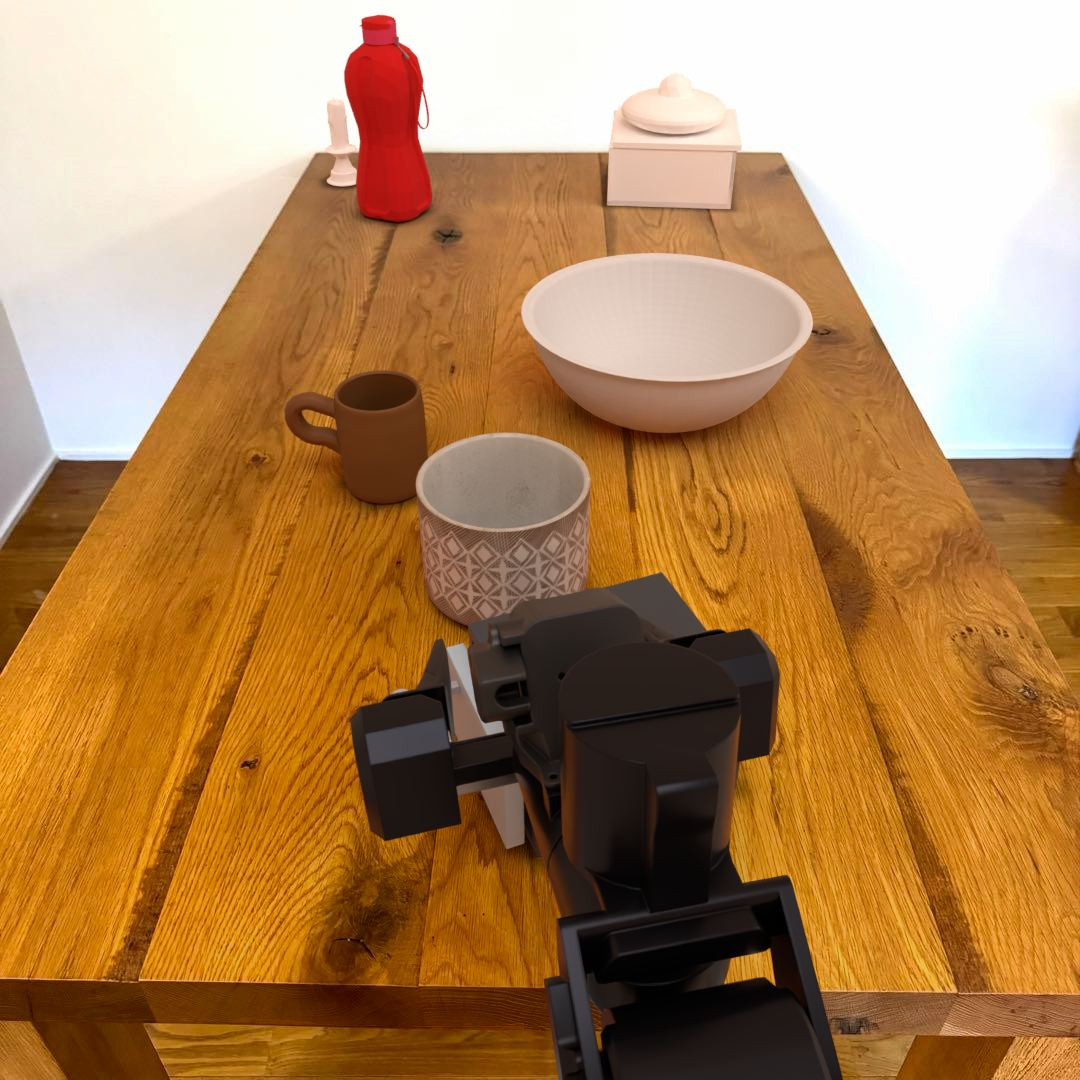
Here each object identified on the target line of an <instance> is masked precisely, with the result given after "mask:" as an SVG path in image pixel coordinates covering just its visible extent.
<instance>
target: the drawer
mask: <svg viewBox="0 0 1080 1080" xmlns="http://www.w3.org/2000/svg"><path fill="white" fill-rule="evenodd" d="M446 649H447V656H448V663H449V670H450V677H451V689H452V703H453V716H454V730H455V737H456V739H457V742H458V741H462V740H467V739H472V738H477V737H482V736H486V735H491V734H496V733H501V732H504V728H503V724H502V721H496V722H491V723H484V722H482V721H481V719H480V716H479V714H478V711H477V707H476V703H475V698H474V691H473V685H472V679H471V673H470V667H469V661H468V654H467V646H466V645H465V643H464V642H461V643H457V644H454V645H451V646H446ZM404 691H409V689H407V688H398V689H396V690H393V691H392V692H391V693H390V694H394V693H399V692H404ZM480 793H481V795H482V798H483V800H484V802H485V804H486V807H487V808H488V811H489V813H490V816H491V818H492V820H493V822H494V824H495V827H496V829H497V832H498V834H499V835H500V838H501V841H502V843H503V845H504V847H505V849H506V850H509V849H512V848H515V847H518V846H521V845H523V844H525V843H526V841H525V840H526V839H525V838H526V836H525V835H526V833H525V831H524V798H523V795H522V792H521V789H520V786H519V783H514V784H510V785H505V786H500V787H496V788H491V789H487V790H482V791H480Z"/></svg>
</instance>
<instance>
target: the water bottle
mask: <svg viewBox="0 0 1080 1080" xmlns="http://www.w3.org/2000/svg"><path fill="white" fill-rule="evenodd" d="M359 27H361V33H362V43H361V44H360V45H359V46H358V47H357V48H355V49H354V50H353V51H352V52H351V53H350V54H348V55H349V56H348V57H347V59H346V63H345V67H344V70H343V76H344V77H343V80H344V87H345V93H346V96H347V100H348V103H349V106H350V109H351V112H352V114H353V117H354V121H355V124H356V126H357V131H358V137H359V149H358V158H357V167H356V170H357V177H356V185H355V187H356V188H355V189H356V202H357V203H356V204H357V206H358V209H359V211H360V212H361V214H362V215H363V216H364V217H367V218H370V219H377V220H383V221H388V222H393V223H403V222H411V221H412V220H413V219H415V218H416V217H419V215H421V214H422V213H424V212H426V211H427V210H429V209H430V207H431V206H432V200H433V191H432V185H431V177H430V172H429V169H428V166H427V163H426V159H425V156H424V153H423V148H422V146H421V142H420V140H419V139H420V138H419V128H420V129H421V130H425V129H427V128H428V127H429V124H430V114H429V113H430V112H429V106H428V102H427V97H426V94H425V87H424V77H423V73H422V70H421V69H422V68H421V65H420V62H419V58H418V56H417V55H416V53H414V51H413V50H412V49H411V48H410V47H408V46H407V45H405V44H403V43H401V42H400V37H399V36H398V32H397V31H398V30H397V21H396V19H395V17H393V16H390V15H387V14H376V15H370V16H369V15H368V16H364V17H363V18H361V24H360V25H359ZM422 97H423V100H424V103H425V104H424V105H425V112H426V126H425V127H424V126H422V125H421V124H420V121H419V117H420V109H421V103H422Z"/></svg>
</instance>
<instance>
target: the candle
mask: <svg viewBox="0 0 1080 1080" xmlns="http://www.w3.org/2000/svg"><path fill="white" fill-rule="evenodd" d="M326 111H327V124H328V126H329V134H330V141H331V144H330V145H328V146H326V147H325V148H324V151H325V152H326V153H327V154H329V155H330V156H333V157H335V162H334V165H333V168H332V169H331V170H330V176H329V177H328V178H327V179H326V183H327V184H328V185H330V186H333V187H341V188H342V187H344V188H345V187H351V186H356V177H357V167H354V166H353V164H352V161H350V158H349V156H351V155H352V154H353V153H355V152H356V151H357V150H358V147H357V145H355V144H351V143H350V139H349V132H348V131H349V130H348V120H347V119H348V117H347V113H346V105H345V101H344V100H342V99H337V98H334V97H332V99H329V100H327V102H326Z"/></svg>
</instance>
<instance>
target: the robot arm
mask: <svg viewBox="0 0 1080 1080" xmlns="http://www.w3.org/2000/svg"><path fill="white" fill-rule="evenodd" d="M487 629H488V638H487V639H486V641H484V642H482V643H477V644H472V645H468V647H466V649H467V654H468V661H469V667H470V673H471V679H472V685H473V691H474V698H475V703H476V707H477V711H478V714H479V716H480V719H481V721H482V722H484V723H491V722H496V721H502V724H503V728H504V732H501V733H496V734H491V735H486V736H482V737H477V738H472V739H467V740H462V741H458V740H457V741H456V734H455V730H454V716H453V703H452V689H451V677H450V670H449V663H448V656H447V649H446V648H447V646H446V643H445V640H444V638H437V639H435V640H434V642H433V645H432V648H431V651H430V653H429V657H428V659H427V662H426V665H425V668H424V672H423V674H422V675H421V679H420V680H419V682H418V684H417V686H416V687H415V688H413V689H410V690H409V689H408V690H409V691H404V692H399V693H394V694H391V693H390V694H388V695H386V696H385V697H383V698H382V699H381V701H380V702H375V703H371V704H370V703H369V704H364V705H360V707H359V708H358V709H357V710H356V711H355V712H354V713H353V715H352V716H351V717H350V718H349V725H350V731H351V741H352V747H353V753H354V759H355V764H356V769H357V774H358V779H359V783H360V784H359V785H360V789H361V794H362V798H363V802H364V808H365V812H366V816H367V821H368V826H369V831H370V832H371V833H372V834H373V835H376V837H379V838H380V839H382V840H383V841H384V842H388V841H393V840H396V839H401V838H405V837H410V836H415V835H418V834H419V835H420V834H424V833H429V832H432V831H437V830H441V829H447V828H450V827H455V826H459V825H462V823H463V822H462V815H461V809H460V802H459V797H461V796H463V795H469V794H472V793H477V792H481V791H482V790H487V789H491V788H496V787H500V786H505V785H510V784H514V783H519V786H520V789H521V792H522V795H523V798H524V802H525V805H526V808H527V811H528V814H529V817H530V821H531V824H532V827H533V830H534V833H535V837H536V840H537V843H538V846H539V849H540V852H541V856H540V857H541V859H542V862H543V864H544V869H545V871H546V874H547V877H548V881H549V884H550V887H551V890H552V893H553V897H554V900H555V902H556V906H557V910H558V913H559V915H560V917H556V919H555V927H556V955H557V964H558V965H557V966H558V972H559V975H555V976H550V977H545V978H543V985H544V992H545V999H546V1005H547V1006H546V1007H547V1011H548V1013H547V1014H548V1019H549V1025H550V1032H551V1039H552V1045H553V1051H554V1059H555V1066H556V1071H557V1079H558V1080H844V1077H843V1073H842V1069H841V1065H840V1061H839V1057H838V1054H837V1049H836V1046H835V1042H834V1038H833V1034H832V1029H831V1027H830V1022H829V1019H828V1015H827V1011H826V1007H825V1004H824V1000H823V996H822V993H821V987H820V985H819V980H818V975H817V973H816V969H815V965H814V962H813V958H812V953H811V949H810V945H809V942H808V938H807V934H806V931H805V926H804V923H803V920H802V915H801V912H800V911H801V910H800V907H799V904H798V900H797V896H796V892H795V889H794V885H793V882H792V880H791V878H790V877H789V875H788V874H783V875H777V876H772V877H766V878H762V879H761V878H760V879H757V880H751V881H745V882H743V880H742V877H741V876H740V874H739V871H738V870H737V867H736V865H735V863H734V860H733V857H732V854H731V833H732V823H733V811H734V798H735V790H736V789H735V777H736V766H737V762H740V763H741V762H744V761H750V760H754V759H759V758H762V757H767V756H770V754H771V752H772V749H773V748H774V746H775V743H776V738H777V724H778V708H779V696H780V695H779V694H780V681H781V680H780V679H781V673H780V669H779V665H778V661H777V658H776V655H775V654H774V652H773V651H772V650H771V648H770V646H769V645H768V644H767V643H766V641H765V640H764V639H763V637H762V636H761V635H760V634H759V633H757V632H756V631H754V630H753V629H751V628H750V627H748V628H743V629H738V630H737V629H736V630H733V631H728V632H727V631H726V630H724V629H721V628H713V629H707V631H703V632H698V633H693V634H688V635H683V636H676V635H674V634H671V633H669V632H667V631H665V630H663V629H661V628H659V627H657V626H655V625H654V624H652V623H650V622H649V621H647V620H645V619H643V618H642V617H640V616H639V615H638V613H637V612H636V611H635V610H634V609H633V608H631V607H630V606H629V605H628V604H627V603H625V602H624V601H623V600H622V599H620V598H619V597H618V596H617V595H616V594H614V593H613V592H612V591H610V590H608V589H605V588H604V587H592V588H587V589H586V588H585V590H584V591H581V592H577V593H571V594H566V595H561V596H556V597H550V598H545V599H533V600H528V601H525V602H522V603H520V604H519V605H517V606H516V607H515V608H514V609H513V610H512V612H511V613H510V615H509V618H508V620H503V621H498V622H492V623H488V624H487ZM734 789H735V790H734ZM768 950H770V959H771V965H772V970H773V971H772V972H773V978H774V983H773V982H772V981H770V980H769V979H768V978H767V977H765V976H758V977H757V976H755V977H752V978H747V979H742V980H736V981H732V982H728V983H725V982H726V979H727V976H728V973H729V970H730V965H731V961H732V959H736V958H740V957H746V956H750V955H751V956H752V955H755V954H761V953H763V952H766V951H768ZM591 1003H592V1004H593V1006H594V1007H595V1008H596V1009H597V1010H598V1012H599V1013H600V1014H601V1031H600V1033H599V1034H600V1035H599V1037H600V1043H601V1048H599V1045H598V1039H597V1035H596V1027H595V1022H594V1017H593V1012H592V1007H591Z"/></svg>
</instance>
